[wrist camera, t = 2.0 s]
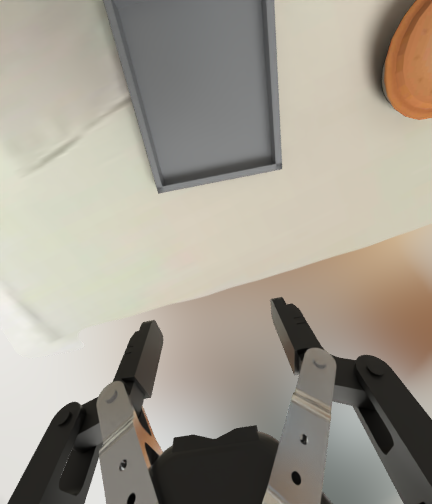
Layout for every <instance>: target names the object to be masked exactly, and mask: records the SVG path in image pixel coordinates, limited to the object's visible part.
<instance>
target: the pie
mask: <svg viewBox="0 0 432 504" xmlns="http://www.w3.org/2000/svg"><path fill="white" fill-rule="evenodd" d="M382 88H383V93H384V95H385V97H386V98H387V100H388V102H389V103H390V104H392V106H393V107H394V109H396V110H397V111H398V112H400V113H401V114H403V115H404V116H405V117H409V118H413V119H418V120H421V119H427V118H432V0H416V1H415V2H414V4H413V5H412V6H411V8H410V9H409V10H408V11H407V13H406V14H405V15H404V17H403V19H402V20H401V22H400V24H399V26H398V28H397V30H396V32H395V33H394V35H393V37H392V39H391V42H390V46H389V49H388V53H387V56H386V59H385V63H384V66H383V70H382Z"/></svg>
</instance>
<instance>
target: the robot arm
mask: <svg viewBox="0 0 432 504" xmlns="http://www.w3.org/2000/svg"><path fill="white" fill-rule="evenodd" d="M271 314H272V319H273V323H274V325H275V328H276V330H277V333H278V336H279V338H280V341H281V343H282V345H283V348H284V350H285V353H286V355H287V358H288V361H289V363H290V366H291V368H292V371H293V373H294V375H298V374H299V378H298V382H297V385H296V389H295V392H294V393H293V395H292V398H291V402H290V405H289V409H288V413H287V417H286V421H285V424H284V428H283V432H282V435H281V439H280V442H279V441H278V440H276V439H274V438H273V437H272V436H270V435H268V434H265V433H262V432H258V430H257V426H249V427H242V428H236V429H234V430H232V431H230V432H228V433H227V434H224V435H222V436H221V437H219V438H217V439H210V438H205V437H202V436H197V435H189V436H182V437H175V438H174V441H173V445H172V446H171V447H169V448H168V449H167V450H165V451H164V452H163V451H162V449H161V447H160V446H159V444H158V442H157V441H156V438H155V436H154V434H153V431H152V429H151V426H150V423H149V421H148V418H147V416H146V413H145V411H144V408H143V406H142V404H143V400H144V399H146V398H151V395H152V390H153V386H154V381H155V377H156V372H157V368H158V363H159V359H160V354H161V350H162V345H163V335H162V333H161V331H160V329H159V327H158V325H157V323H156V321H155V320H153V321H147V322H143V323H142V325H141V327H140V330H139V331H137V332H135V333H134V335H133V336H132V337H131V339H130V341H129V343H128V346H127V349H126V351H125V354H124V355H123V358H122V360H121V363H120V365H119V368H118V370H117V373H116V375H115V378H114V380H113V382H112V383H111V384H109V385H107V386H106V387H105V388H104V389H103V391H102V392H101V394H100V395H99V397H97V398H95V399H93V400H91V401H89V402H87V403H85V404H83V405H80V404H79V403H77V402H72V403H69V404H67V405H66V406H64V407H63V408H62V409H61V410H60V411H59V412H58V413H57V414H56V415H55V416H54V418H53V419H52V421H51V423H50V425H49V427H48V429H47V430H46V432H45V434H44V436H43V438H42V440H41V442H40V444H39V446H38V447H37V449H36V451H35V453H34V455H33V457H32V459H31V460H30V462H29V464H28V466H27V468H26V470H25V472H24V474H23V476H22V478H21V479H20V481H19V483H18V485H17V487H16V489H15V491H14V492H13V495H12V496H11V498H10V500H9V502H8V504H84V503H85V499H86V496H87V493H88V490H89V487H90V483H91V480H92V477H93V474H94V471H95V467H96V464H97V461H98V458H99V459H100V465H101V471H102V478H103V484H104V490H105V497H106V504H333V503H332V502H331V501H330V500H329V499H328V497H327V496H326V495H325V494H324V493H323V492H322V486H323V478H324V470H325V462H326V453H327V445H328V437H329V429H330V421H331V406H332V401H334V402H338V403H342V404H347V405H351V406H353V408H354V410H355V412H356V413H357V415H358V417H359V419H360V421H361V423H362V425H363V427H364V429H365V430H366V432H367V434H368V436H369V438H370V440H371V442H372V444H373V446H374V448H375V450H376V452H377V454H378V455H379V457H380V459H381V461H382V463H383V465H384V467H385V469H386V471H387V472H388V475H389V476H390V478H391V480H392V482H393V484H394V486H395V488H396V489H397V492H398V494H399V496H400V497H401V499H402V501H403V503H404V504H432V420H431V418H430V417H429V416H428V414H427V413H426V412H425V411H424V409H423V408H422V407H421V405H420V404H419V403H418V402H417V401H416V399H415V398H414V397H413V395H412V394H411V393H410V392H409V390H408V389H407V388H406V387H405V385H404V384H403V383H402V381H401V380H400V379H399V378H398V376H397V375H396V374H395V373H394V371H393V370H392V369H391V368H390V367H389V366H388V365H387V364H386V363H385V362H384V361H382V360H381V359H379V358H377V357H374V356H370V355H362V356H359V357H358V358H357V360H350V359H343V358H339V357H335V356H333V355H331V354H329V353H328V352H327V351H325V350H324V349H323V348H322V346H321V345H320V343H319V342H318V340H317V339H316V337H315V335H314V333H313V331H312V330H311V328H310V326H309V325H308V323H307V322H306V320H305V318H304V317H303V315H302V313H301V311H300V310H299V309H298V308H297V307H296V306H295V305H293V304H287V305H286V303H285V301H284V299H283V298H282V297H280V298H274V299H271ZM102 445H103V446H102ZM71 450H72V451H71ZM70 452H71V453H70ZM68 457H69V458H68ZM66 462H67V463H66ZM65 464H66V465H65ZM64 467H65V468H64ZM63 469H64V470H63ZM61 474H62V475H61Z"/></svg>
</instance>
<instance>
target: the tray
mask: <svg viewBox="0 0 432 504" xmlns="http://www.w3.org/2000/svg"><path fill="white" fill-rule="evenodd" d="M103 1H104V5H105V8H106V12H107V15H108V19H109V22H110V26H111V29H112V33H113V36H114V40H115V43H116V47H117V51H118V54H119V58H120V61H121V65H122V68H123V72H124V75H125V79H126V82H127V86H128V89H129V93H130V96H131V100H132V103H133V107H134V110H135V114H136V117H137V121H138V124H139V128H140V131H141V135H142V138H143V142H144V145H145V149H146V152H147V156H148V159H149V163H150V166H151V170H152V173H153V177H154V180H155V184H156V187H157V191H158V193H163V192H168V191H173V190H178V189H184V188H189V187H194V186H199V185H204V184H209V183H214V182H219V181H224V180H229V179H234V178H239V177H244V176H249V175H255V174H260V173H265V172H270V171H275V170H280V169H282V156H281V135H280V114H279V93H278V72H277V51H276V30H275V9H274V0H103Z"/></svg>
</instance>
